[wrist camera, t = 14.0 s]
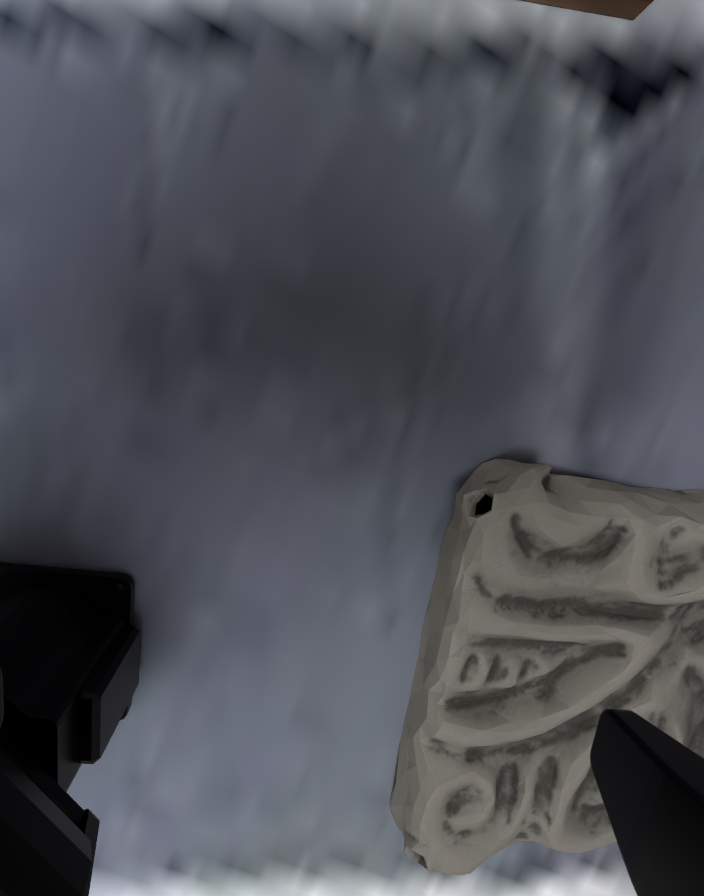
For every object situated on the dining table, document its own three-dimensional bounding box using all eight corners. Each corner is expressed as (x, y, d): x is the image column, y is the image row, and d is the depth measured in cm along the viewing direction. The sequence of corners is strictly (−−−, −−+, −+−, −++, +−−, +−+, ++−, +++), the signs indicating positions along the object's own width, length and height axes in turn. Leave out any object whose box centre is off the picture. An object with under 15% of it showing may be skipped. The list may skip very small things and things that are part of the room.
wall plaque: (380, 830, 26) (390, 920, 22) (452, 445, 21) (480, 474, 17) (833, 860, 28) (915, 948, 24) (984, 513, 23) (1114, 551, 19)
